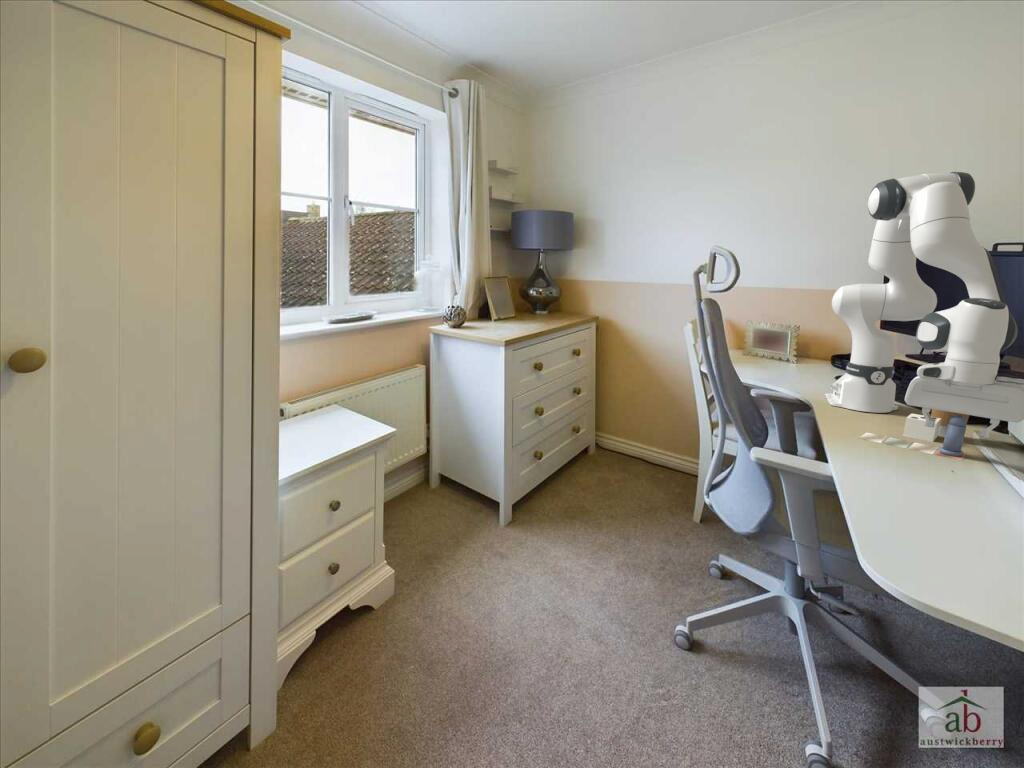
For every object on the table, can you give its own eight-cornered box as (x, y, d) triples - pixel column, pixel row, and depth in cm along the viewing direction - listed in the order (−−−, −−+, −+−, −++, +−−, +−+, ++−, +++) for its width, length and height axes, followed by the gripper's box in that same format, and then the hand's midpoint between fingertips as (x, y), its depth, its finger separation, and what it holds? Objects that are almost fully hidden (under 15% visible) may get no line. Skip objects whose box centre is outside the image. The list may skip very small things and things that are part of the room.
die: (901, 439, 126) (906, 417, 124) (907, 435, 130) (911, 413, 128) (931, 446, 121) (936, 422, 120) (936, 440, 125) (941, 418, 124)
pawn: (935, 450, 115) (943, 412, 113) (955, 451, 114) (964, 413, 112) (945, 456, 111) (954, 417, 109) (966, 457, 110) (975, 418, 108)
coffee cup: (933, 430, 134) (944, 377, 131) (972, 439, 127) (985, 383, 123) (918, 434, 130) (929, 380, 127) (957, 444, 123) (970, 386, 119)
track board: (852, 442, 124) (853, 437, 123) (861, 435, 129) (862, 431, 129) (966, 467, 108) (967, 462, 108) (971, 458, 113) (973, 453, 113)
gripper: (1037, 378, 103) (1021, 440, 106) (915, 364, 118) (904, 418, 121) (1035, 382, 99) (1019, 447, 102) (909, 367, 114) (898, 424, 117)
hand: (955, 431), depth 112 cm, fingers open, 8 cm apart
